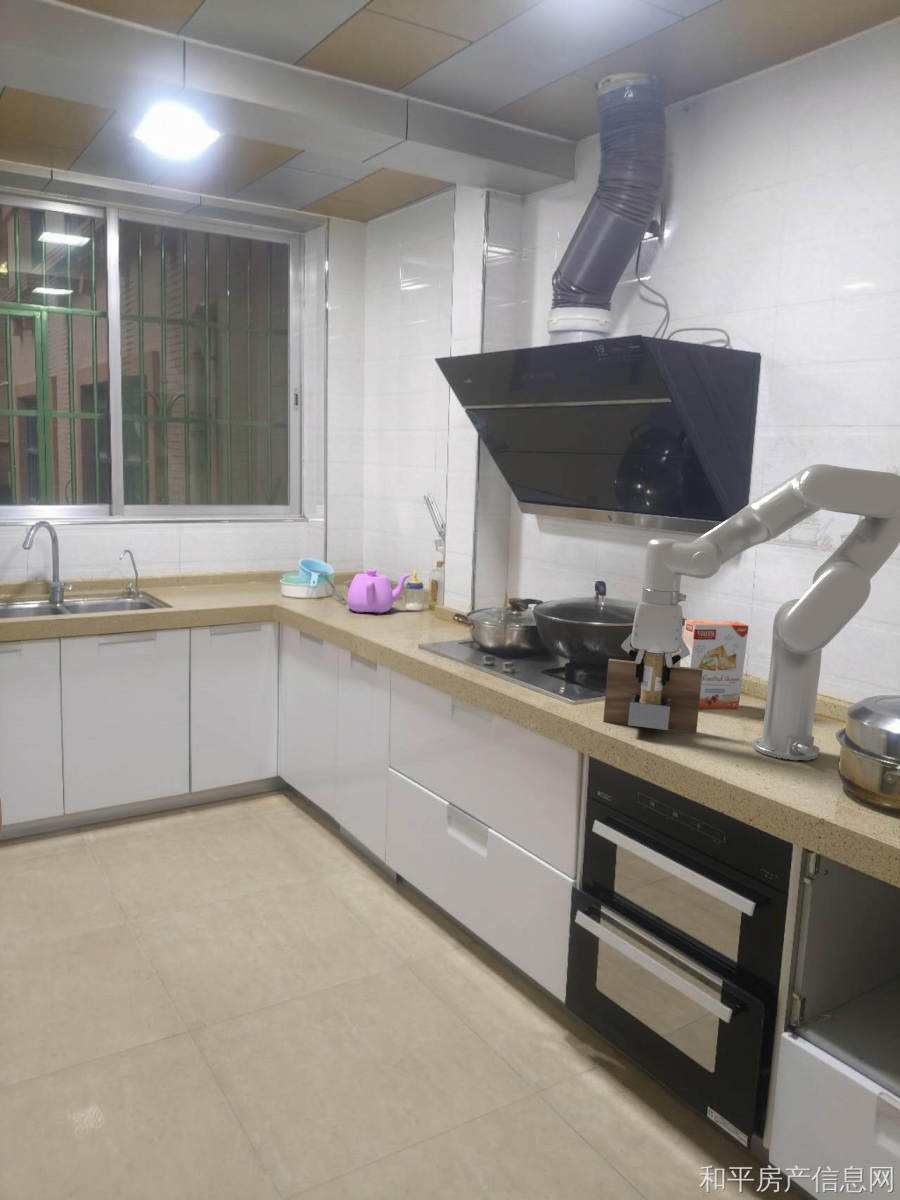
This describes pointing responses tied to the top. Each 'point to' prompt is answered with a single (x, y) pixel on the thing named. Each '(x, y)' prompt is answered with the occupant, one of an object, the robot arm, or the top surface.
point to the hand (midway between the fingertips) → (652, 681)
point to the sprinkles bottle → (652, 676)
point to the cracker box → (717, 660)
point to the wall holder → (670, 715)
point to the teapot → (373, 592)
